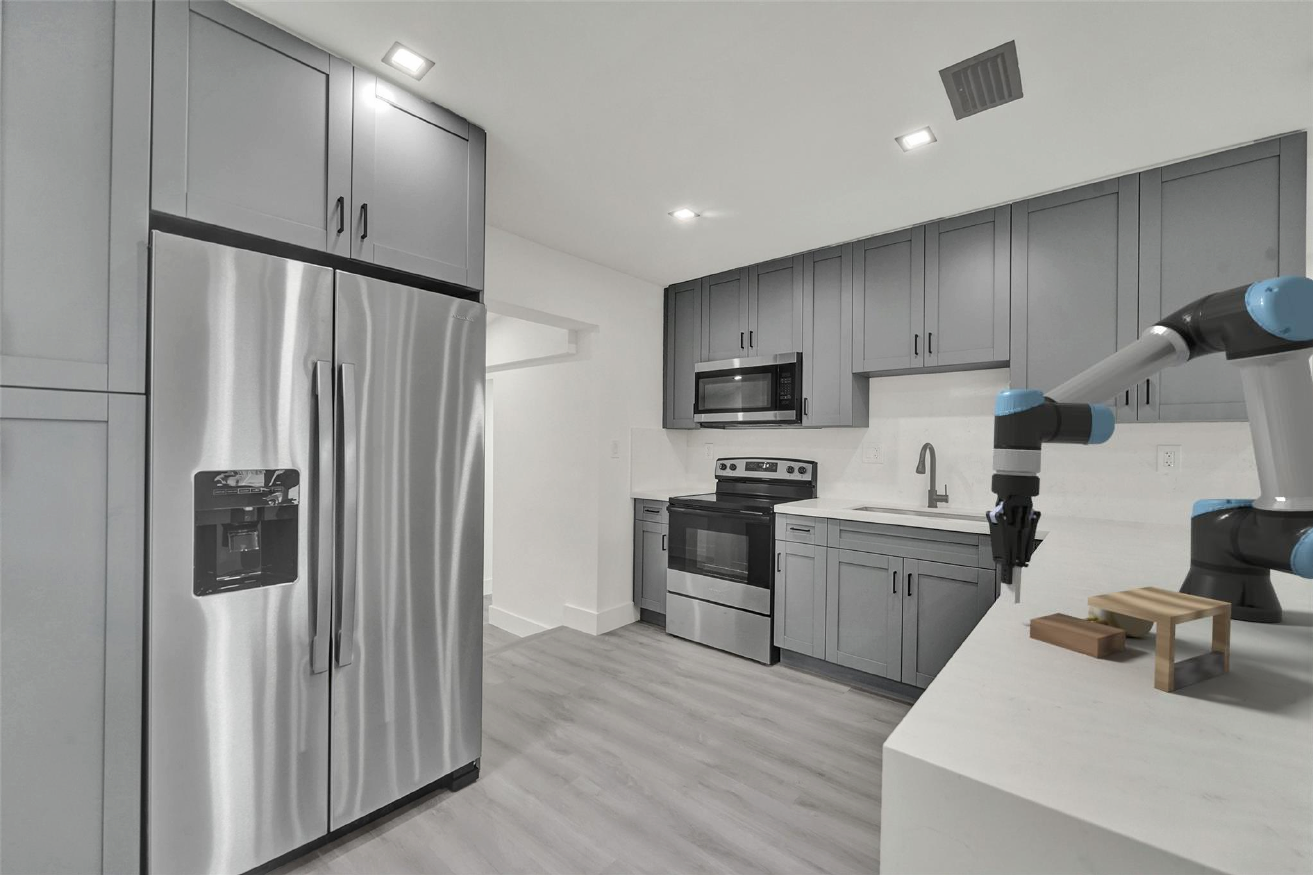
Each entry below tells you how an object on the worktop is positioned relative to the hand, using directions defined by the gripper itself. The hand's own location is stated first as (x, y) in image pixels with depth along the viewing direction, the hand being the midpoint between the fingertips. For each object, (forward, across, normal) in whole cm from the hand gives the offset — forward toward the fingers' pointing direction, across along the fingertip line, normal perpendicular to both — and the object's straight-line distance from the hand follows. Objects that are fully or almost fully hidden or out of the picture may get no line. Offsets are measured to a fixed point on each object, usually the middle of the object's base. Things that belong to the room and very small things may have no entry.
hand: (1009, 601), depth 106 cm
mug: (+4, -14, +10) cm, 18 cm away
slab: (+4, 0, +11) cm, 12 cm away
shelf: (+4, 0, +22) cm, 23 cm away
